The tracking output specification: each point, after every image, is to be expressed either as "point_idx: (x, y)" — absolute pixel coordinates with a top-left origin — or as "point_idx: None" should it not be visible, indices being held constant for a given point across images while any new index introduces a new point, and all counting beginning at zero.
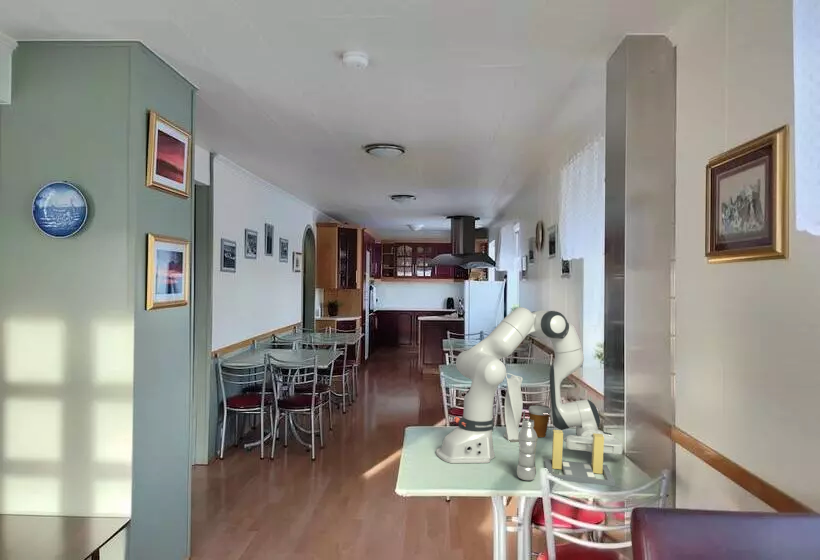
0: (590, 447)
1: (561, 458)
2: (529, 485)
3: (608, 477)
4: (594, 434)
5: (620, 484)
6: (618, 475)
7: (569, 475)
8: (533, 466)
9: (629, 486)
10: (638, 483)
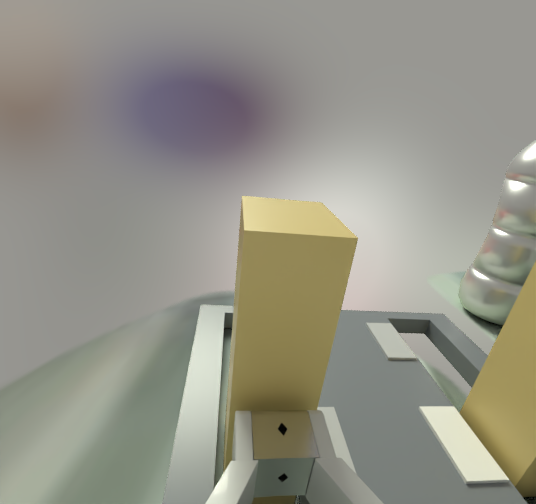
0: (351, 477)
1: (481, 375)
2: (446, 288)
3: (217, 331)
4: (332, 221)
5: (168, 336)
6: (114, 445)
7: (373, 319)
8: (474, 261)
9: (135, 328)
10: (60, 362)
